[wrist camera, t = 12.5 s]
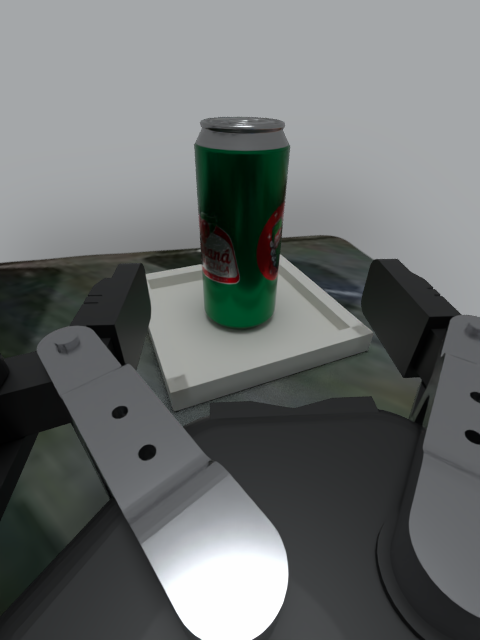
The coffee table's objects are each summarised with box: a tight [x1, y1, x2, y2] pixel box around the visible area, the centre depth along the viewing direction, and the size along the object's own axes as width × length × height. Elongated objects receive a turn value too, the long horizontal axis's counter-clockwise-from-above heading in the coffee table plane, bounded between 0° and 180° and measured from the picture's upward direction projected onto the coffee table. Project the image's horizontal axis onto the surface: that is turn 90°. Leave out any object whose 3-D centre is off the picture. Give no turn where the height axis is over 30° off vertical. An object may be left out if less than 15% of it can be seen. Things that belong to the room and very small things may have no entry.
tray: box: [146, 254, 373, 412], centre depth 24 cm, size 13×13×2 cm
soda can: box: [194, 117, 290, 330], centre depth 20 cm, size 5×5×12 cm
